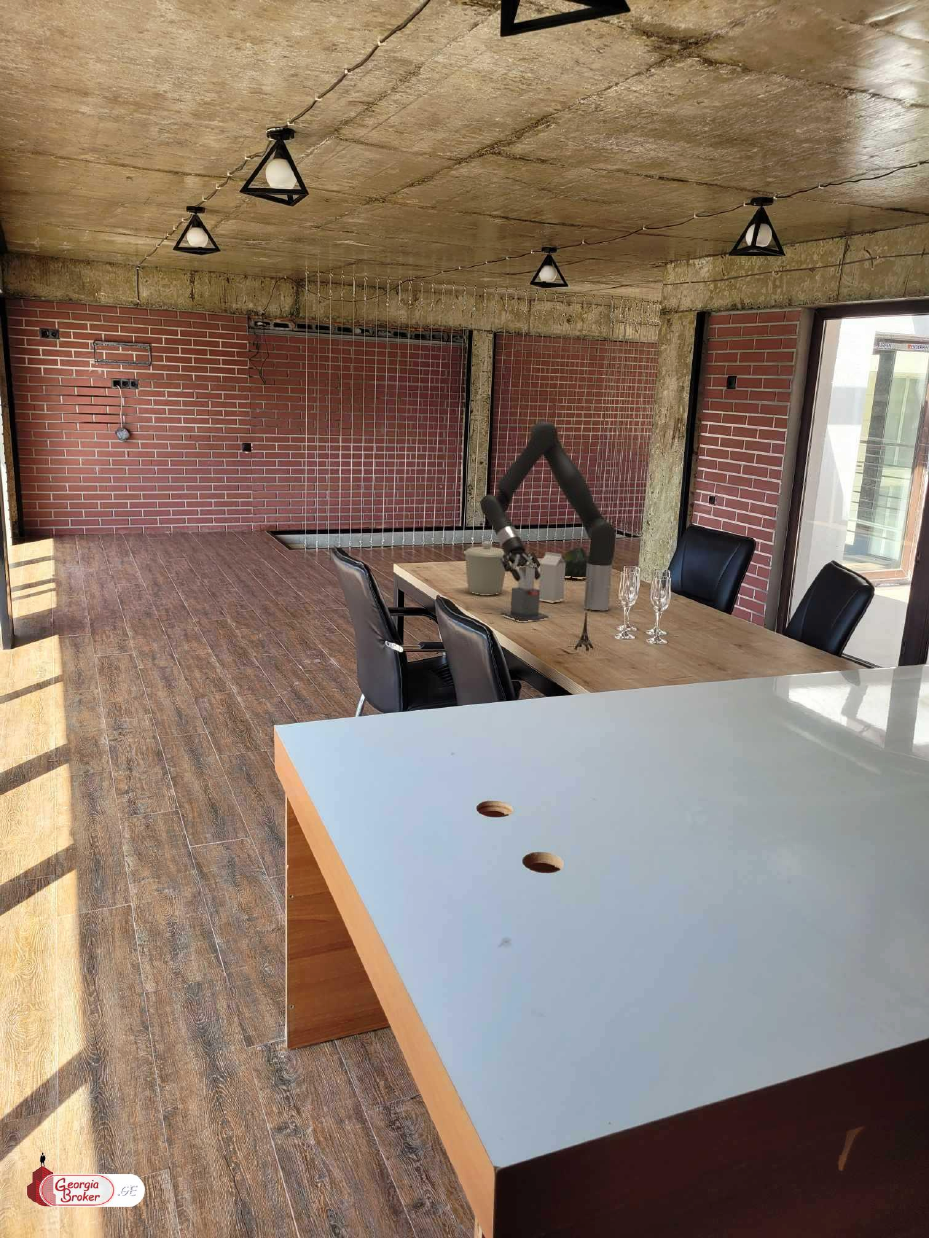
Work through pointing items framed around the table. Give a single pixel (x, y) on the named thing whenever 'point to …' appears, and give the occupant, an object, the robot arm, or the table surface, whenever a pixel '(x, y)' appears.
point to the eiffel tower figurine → (582, 640)
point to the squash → (575, 562)
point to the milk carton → (552, 577)
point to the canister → (484, 569)
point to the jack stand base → (525, 605)
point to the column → (526, 578)
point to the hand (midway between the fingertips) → (528, 579)
